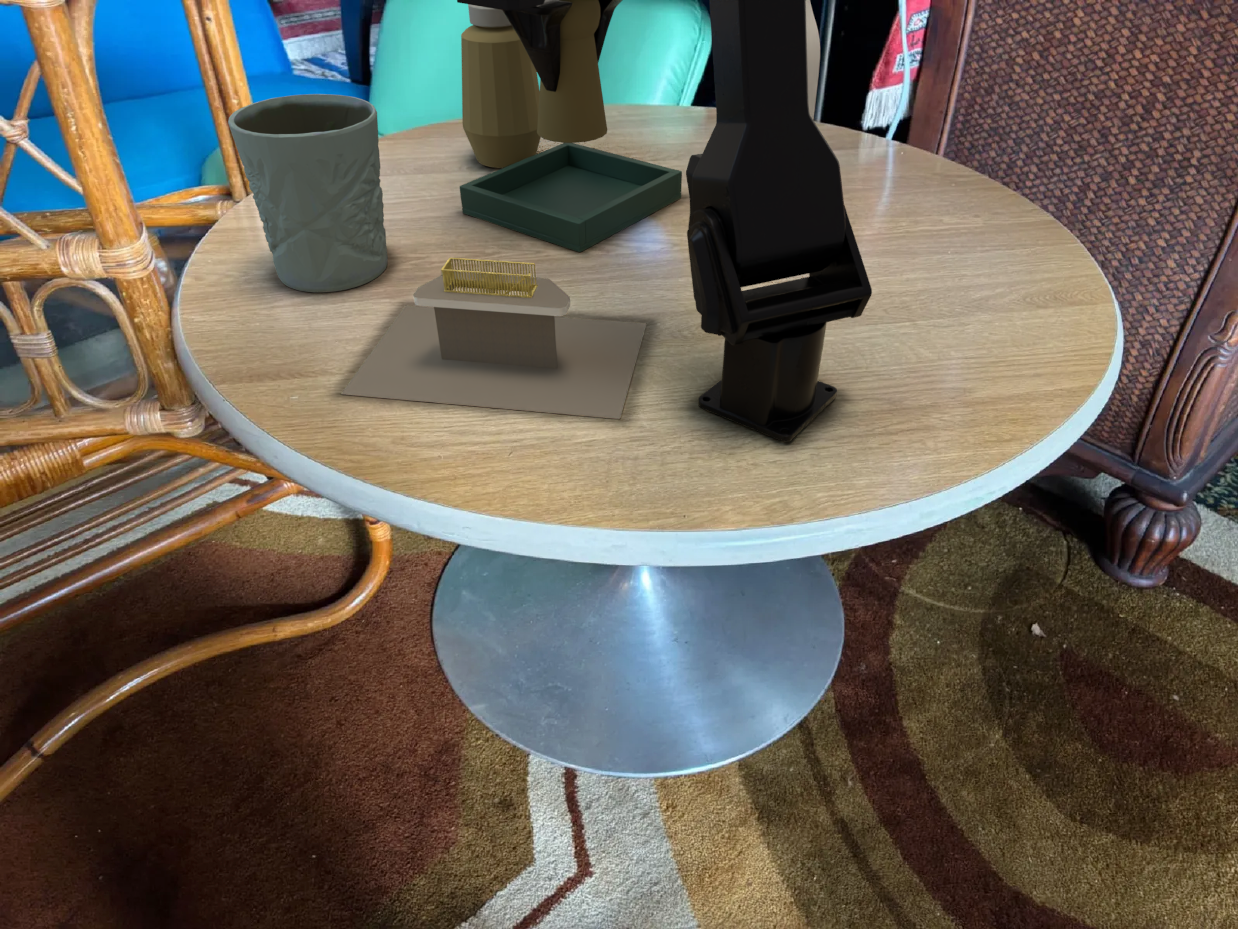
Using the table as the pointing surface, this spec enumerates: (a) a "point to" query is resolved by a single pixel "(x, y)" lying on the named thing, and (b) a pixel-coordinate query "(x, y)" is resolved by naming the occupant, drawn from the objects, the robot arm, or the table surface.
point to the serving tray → (571, 194)
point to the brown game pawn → (575, 81)
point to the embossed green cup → (316, 187)
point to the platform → (501, 347)
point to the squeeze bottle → (498, 90)
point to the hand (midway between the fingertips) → (570, 84)
